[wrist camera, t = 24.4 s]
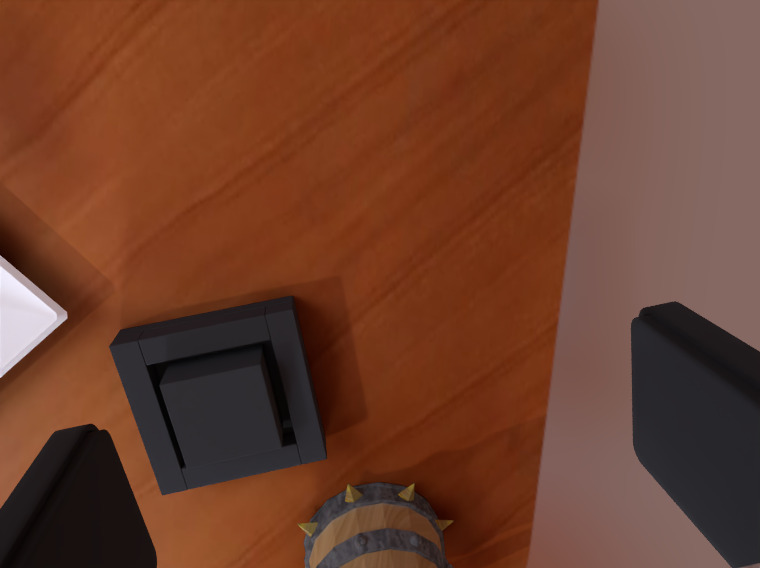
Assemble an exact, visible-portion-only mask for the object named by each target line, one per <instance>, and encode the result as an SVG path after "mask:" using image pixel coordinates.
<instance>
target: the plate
mask: <svg viewBox="0 0 760 568" xmlns="http://www.w3.org/2000/svg"><path fill="white" fill-rule="evenodd" d="M66 319H67V312H66V311H65V310H64V309H63V308H62V307H60V306H59V305H58V304H57V303H56V302H55V301H53V300H52V299H51V298H50V297H49V296H48V295H46V294H45V293H44V292H43V291H42V290H40V289H39V288H38V287H37V286H36V285H35V284H33V283H32V282H31V281H30V280H29V279H28V278H26V277H25V276H24V275H23V274H22V273H21V272H19V271H18V270H17V269H16V268H15V267H13V266H12V265H11V264H10V263H9V262H8V261H6V260H5V259H4V258H3V257H2V256H1V255H0V378H1V377H2V376H3V375H4V374H5V373H6V372H7V371H9V370H10V369H11V368H12V367H13V366H14V365H15V364H16V363H18V362H19V361H20V360H21V359H22V358H23V357H24V356H25V355H27V354H28V353H29V352H30V351H31V350H32V349H33V348H34V347H36V346H37V345H38V344H39V343H40V342H41V341H42V340H43V339H45V338H46V337H47V336H48V335H49V334H50V333H51V332H52V331H54V330H55V329H56V328H57V327H58V326H59V325H60V324H62V323H63V322H64V321H65V320H66Z"/></svg>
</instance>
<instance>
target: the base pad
mask: <svg viewBox="0 0 760 568" xmlns="http://www.w3.org/2000/svg"><path fill="white" fill-rule="evenodd" d="M258 344H263V345H264V349H265V353H266V357H267V360H268V364H269V368H270V372H271V376H272V380H273V384H274V388H275V392H276V396H277V400H278V404H279V408H280V412H281V416H282V420H283V442H282V448H279V449H275V450H270V451H266V452H261V453H256V454H252V455H247V456H243V457H238V458H234V459H229V460H224V461H220V462H215V463H211V464H206V465H201V466H197V467H192V468H186V465H185V462H184V459H183V455H182V452H181V449H180V446H179V443H178V440H177V437H176V434H175V431H174V428H173V425H172V422H171V419H170V416H169V413H168V410H167V407H166V404H165V401H164V398H163V395H162V392H161V389H160V386H159V385H160V383H161V380H162V378H163V376H164V374H165V371H166V369H167V367H168V365H169V363H170V362H175V361H180V360H185V359H190V358H195V357H199V356H204V355H209V354H214V353H219V352H224V351H229V350H234V349H239V348H244V347H248V346H253V345H258ZM109 348H110V350H111V353H112V356H113V359H114V362H115V364H116V367H117V370H118V373H119V376H120V378H121V381H122V384H123V387H124V390H125V393H126V395H127V398H128V401H129V404H130V407H131V409H132V412H133V415H134V418H135V421H136V423H137V426H138V429H139V432H140V435H141V437H142V440H143V443H144V446H145V449H146V451H147V454H148V457H149V460H150V463H151V465H152V468H153V471H154V474H155V477H156V480H157V482H158V485H159V488H160V491H161V494H162V495H166V494H171V493H175V492H180V491H184V490H188V489H193V488H197V487H202V486H206V485H211V484H215V483H220V482H224V481H229V480H233V479H238V478H243V477H247V476H252V475H256V474H261V473H265V472H270V471H274V470H279V469H283V468H288V467H292V466H297V465H301V464H306V463H311V462H315V461H320V460H324V459H327V450H326V439H325V434H324V429H323V425H322V421H321V416H320V412H319V408H318V403H317V399H316V394H315V390H314V386H313V381H312V377H311V372H310V368H309V364H308V359H307V355H306V351H305V346H304V342H303V337H302V333H301V329H300V324H299V320H298V315H297V311H296V307H295V302H294V298H293V296H288V297H283V298H278V299H273V300H268V301H263V302H258V303H253V304H248V305H243V306H238V307H233V308H228V309H223V310H218V311H213V312H208V313H203V314H198V315H193V316H188V317H183V318H178V319H173V320H168V321H163V322H158V323H153V324H148V325H143V326H138V327H133V328H127V329H122V330H120V331H119V333H118V334H117V336H116V337H115V339H114V340H113V342H112V343H111V344H110V346H109Z"/></svg>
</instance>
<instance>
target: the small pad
mask: <svg viewBox="0 0 760 568" xmlns="http://www.w3.org/2000/svg"><path fill="white" fill-rule="evenodd" d="M159 386H160V389H161V392H162V395H163V398H164V401H165V404H166V407H167V410H168V413H169V416H170V419H171V422H172V425H173V428H174V431H175V434H176V437H177V440H178V443H179V446H180V449H181V452H182V455H183V459H184V462H185V465H186V468H192V467H197V466H201V465H206V464H211V463H215V462H220V461H224V460H229V459H234V458H238V457H243V456H247V455H252V454H256V453H261V452H266V451H270V450H275V449H279V448H282V442H283V420H282V416H281V412H280V408H279V404H278V400H277V396H276V392H275V388H274V384H273V380H272V376H271V372H270V368H269V364H268V360H267V357H266V353H265V349H264V345H263V344H258V345H253V346H248V347H244V348H239V349H234V350H229V351H224V352H219V353H214V354H209V355H204V356H199V357H195V358H190V359H185V360H180V361H175V362H170V363H169V365H168V367H167V369H166V371H165V374H164V376H163V378H162V380H161V383H160V385H159Z"/></svg>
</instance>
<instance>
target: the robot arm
mask: <svg viewBox="0 0 760 568" xmlns="http://www.w3.org/2000/svg"><path fill="white" fill-rule="evenodd" d="M631 350H632V351H631V352H632V406H633V407H632V412H633V445H634V450H635V452H636V455H637V457H638V459H639V461H640V462H641V464H642V465H643V466H644V467H645V468H646V469H647V471H648V472H649V473H650V474H651V475H652V476H653V477H654V479H655V480H656V481H657V482H658V483H659V484H660V485H661V487H662V488H663V489H664V490H665V491H666V492H667V494H668V495H669V496H670V497H671V498H672V499H673V500H674V502H676V504H677V505H678V506H679V507H680V509H681V510H682V511H683V512H684V513H685V514H686V515H687V516H688V518H689V519H690V520H691V521H692V522H693V523H694V525H695V526H696V527H697V528H698V529H699V530H700V532H702V534H703V535H704V536H705V537H706V538H707V540H708V541H709V542H710V543H711V544H712V545H713V546H714V548H715V549H716V550H717V551H718V552H719V553H720V555H721V556H722V557H723V558H724V559H725V560H726V561H727V562H728V564H729V565H730V566H731V567H732V568H760V352H759V351H758V350H756V349H754V348H753V347H751V346H749V345H748V344H746V343H745V342H743V341H741V340H740V339H738V338H736V337H735V336H733V335H731V334H730V333H728V332H726V331H725V330H723V329H721V328H720V327H718V326H716V325H715V324H713V323H712V322H710V321H708V320H707V319H705V318H703V317H702V316H700V315H698V314H697V313H695V312H694V311H692V310H690V309H688V308H687V307H685V306H684V305H682V304H680V303H678V302H670V303H664V304H660V305H655V306H650V307H645V308H643V309H642V310H641V311H640V314H639V317H636V318H634V319H633V320H632V323H631ZM0 568H157V557H156V551H155V548H154V545H153V543H152V540H151V538H150V535H149V533H148V530H147V527H146V525H145V522H144V520H143V517H142V515H141V512H140V509H139V507H138V504H137V502H136V499H135V497H134V494H133V492H132V489H131V486H130V484H129V481H128V479H127V476H126V474H125V471H124V469H123V466H122V463H121V461H120V458H119V456H118V453H117V451H116V448H115V446H114V443H113V440H112V438H111V436H110V434H109V433H108V431H107V430H98V428H97V427H96V426H95V425H93V424H87V425H82V426H77V427H73V428H68V429H63V430H58V431H55V432H54V433H53V434H52V435H51V437H50V438H49V440H48V441H47V443H46V444H45V445H44V447H43V448H42V450H41V451H40V453H39V454H38V456H37V457H36V458H35V460H34V461H33V463H32V464H31V466H30V467H29V469H28V470H27V471H26V473H25V474H24V476H23V477H22V479H21V480H20V482H19V483H18V484H17V486H16V487H15V489H14V490H13V492H12V493H11V495H10V496H9V497H8V499H7V500H6V502H5V503H4V505H3V506H2V508H1V509H0Z"/></svg>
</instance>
